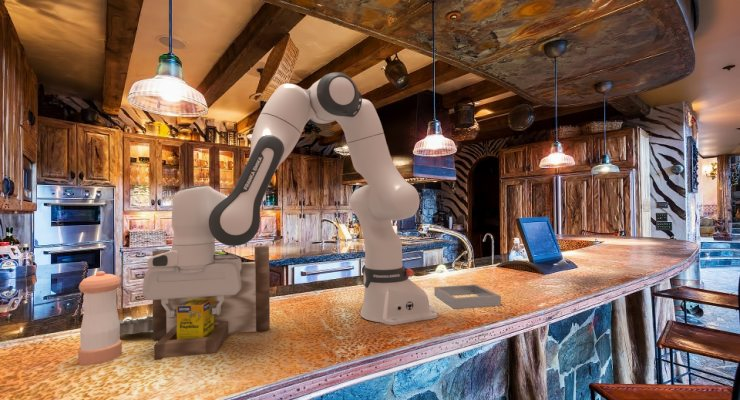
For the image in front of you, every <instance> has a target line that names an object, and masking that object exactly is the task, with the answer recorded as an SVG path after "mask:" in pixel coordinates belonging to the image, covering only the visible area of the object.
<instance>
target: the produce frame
mask: <svg viewBox="0 0 740 400" xmlns="http://www.w3.org/2000/svg"><path fill="white" fill-rule="evenodd" d="M433 289H434V291H433V292H434V293H433V294H434V297H436V298H437V299H439V300H440V301H441V302H443V303H445V304H446V305H447V306H449V307H450V308H452V309H453V310H457V309H460V310H461V309H472V308H483V307H485V308H486V307H497V306H498V307H499V306H502V299H501V298H502V297H501V295H500V294H498V293H495V292H493V291H491V290H488V289H487V288H484V287H482V286H480V285H479V284H464V285H463V284H462V285H461V284H460V285H459V284H458V285H443V286H435V287H434V288H433ZM460 295H477V296H468V297H467V296H465V297H455V296H460Z"/></svg>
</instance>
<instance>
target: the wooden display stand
mask: <svg viewBox="0 0 740 400" xmlns="http://www.w3.org/2000/svg"><path fill="white" fill-rule="evenodd" d="M169 250H170V249H155V250H152V252H151V254H152V256H151V257H153V256H155V255H158V254H161V253H163V252H165V251H169ZM240 276H241V290H240V291H239V292H238V293H237V294H236V295H226V298H225V300H224V302H223V303H222V305H221V313H220V315H214V330H213V331H212V333H211V334H210V335H209V337H202V338H190V339H177V317H175V318H170V319H168V318H167V311H166V310H165V308H164V307H163V306H162V304H161V299H159V300H152V316H153V331H152V341H153V342H156V343H155V344H154V345H153V347H154V348H153V353H154V355H153V360H154V361H161V360H162V359H165V358H175V357H176V358H177V357H187V356H188V357H189V356H199V355H212V354H216V353H217V352H218V350H219V349H220V347H221V346H222V345H223V343H224V341H225V340H226V339H227V337H228V335H229V334H236V333H237V334H238V333H239V334H241V333H249V332H250V333H253V332H257V333H263V332H268V331H270V330H271V327H270V326H271V323H270V322H271V319H270V312H271V311H270V303H271V301H270V300H271V299H270V246H268V245H262V246H261V245H258V246H254V261H248V262H246V261H245V262H242V269H241V271H240ZM209 298H213V299H214V306H217V305H218V303H219V301H220V300H217V296H207V297H191V298H175V299H172V301H171V302H170V304H171V306H172V307H173V309H177V306H178V305H180V304H182V303H184V302H186V301H188V300H189V299H209ZM176 313H177V312H176Z"/></svg>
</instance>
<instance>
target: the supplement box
mask: <svg viewBox="0 0 740 400" xmlns="http://www.w3.org/2000/svg"><path fill="white" fill-rule="evenodd" d="M213 307H214V299H213V298H209V299H189V300H188V301H186V302H184V303H182V304H180V305H178V306H177V339H190V338H202V337H209V335H210V334H211V333H212V331H213V330H214V315H212V313H213V312H212V308H213Z"/></svg>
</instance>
